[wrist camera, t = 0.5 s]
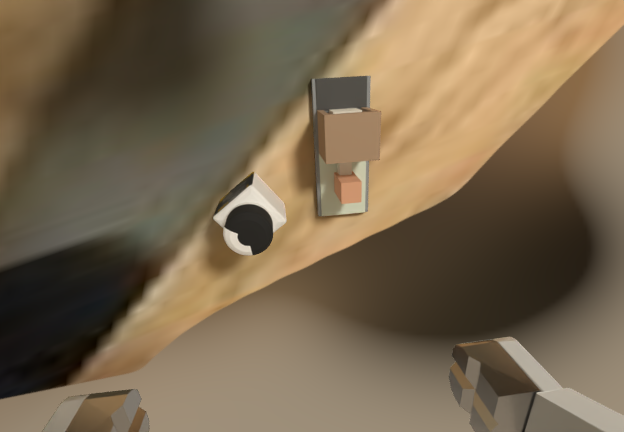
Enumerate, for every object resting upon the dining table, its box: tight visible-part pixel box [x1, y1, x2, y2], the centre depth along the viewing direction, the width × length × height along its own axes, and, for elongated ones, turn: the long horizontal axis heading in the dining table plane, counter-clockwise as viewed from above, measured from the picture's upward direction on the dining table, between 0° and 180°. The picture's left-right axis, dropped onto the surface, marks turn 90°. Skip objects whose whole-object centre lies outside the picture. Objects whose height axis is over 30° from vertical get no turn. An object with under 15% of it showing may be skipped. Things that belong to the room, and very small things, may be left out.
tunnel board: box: [311, 76, 381, 216], centre depth 45 cm, size 20×8×8 cm, turn 3°
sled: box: [329, 108, 362, 204], centre depth 45 cm, size 12×4×5 cm, turn 3°
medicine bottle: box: [213, 172, 286, 255], centre depth 44 cm, size 7×7×12 cm
